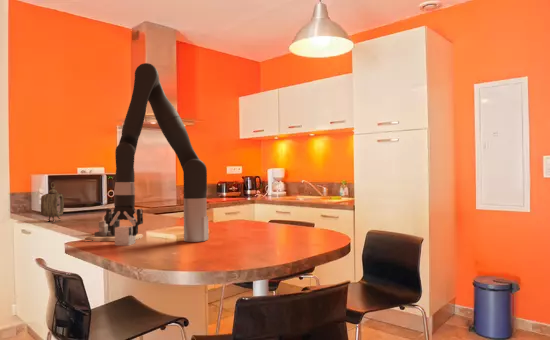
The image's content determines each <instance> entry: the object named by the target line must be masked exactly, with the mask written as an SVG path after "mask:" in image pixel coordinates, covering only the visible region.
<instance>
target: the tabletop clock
mask: <svg viewBox="0 0 550 340" xmlns="http://www.w3.org/2000/svg"><path fill="white" fill-rule="evenodd" d="M52 185H54V186H52ZM50 188H51V189H50V190H49V191H48V193H45V194H43V195H42V196H41V197H40V214H41V216H43V217H45V218H46V217H48V219H47V220H50V221H51V218H52V222H53V221H54V220H55V217H57V219H61V220H62V218H61V216H63V214H64V211H65V210H64V207H65V202H64V193H61V192H60V193H59V192H58V191H57V189H55V188H56V184H55V182H54V181H52V182H50Z"/></svg>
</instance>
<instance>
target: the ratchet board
mask: <svg viewBox="0 0 550 340" xmlns="http://www.w3.org/2000/svg"><path fill="white" fill-rule="evenodd" d="M142 237H143V238H144V235H143V234H142V233H138V234H137V235H136V236H135V239H137V240H140V239H143V238H142ZM139 238H140V239H139ZM85 240H95V241H94V242H100V241H115V235H112V234H111V233H110V231H108V224H106V223H105V221H104V220H100V221H98V231H95V232H94V235H91V236H86V237H84V241H85Z"/></svg>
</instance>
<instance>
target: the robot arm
mask: <svg viewBox="0 0 550 340" xmlns="http://www.w3.org/2000/svg"><path fill="white" fill-rule="evenodd" d="M133 80H134V81H133V89H132V94H131V97H130V98H131V99H130V102H129V106H128V109H127V112H126V114H125V118H124V121H123V125H122V129H121V137H120V140H119V143H118V144H117V146H116V148H115V152H114V153H115V179H114V181H115V183H114V191H113V193H114V198H113V199H114V204H113V205H114V207H112V208H114V209H112V208H111V207H109V209H107V208H106V209H107V210H105V215H106V221H105V223H106V224H109V225H110V233H111V234H112V235H115V227H116V225H115V224H116V223H117V222H118V221H119V220H120V221H123V220H124V221H129V222H130V223H131V226H132V235H133V236H136V235H137V234H139V226H140V225H143V224H144V219H143V218H144V214H143V208H138V209H137V208H135V205H136V204H135V203H136V202H135V201H136V186H135V185H136V184H135V176H136V175H135V154H136V151H137V147H138V141H139V138H140V136H141V133H142V129H143V125H144V122H145V118H146V112H147V106H148V103H149V105H150V108H151V110H152V113H153V115H154V118H155V120H156V123H157V125H158V127H159V128H160V130H161V132H162V134H163V136H164V138H165V139H166V141H167V143H168V144H169V146H170V147H171V149H172V150H173V151H174V153H175V155H176V157H177V160H178V162H179V164H180V166H181V169H182V172H183V173H182V175H183V241H184V242H188V243H194V242H195V243H196V242H205V241H207V240H209V215H207V213H208V212H207V211H208V209H207V206H208V205H207V204H208V202H207V201H208V200H207V197H208V196H207V195H208V194H207V193H208V192H207V191H208V182H207V181H208V169H207V165H206V164H205V162H204V161H202V160H201V159H200V157H199V156H198V154H197V152H196V151H195V150H194V148H193V145H192V143H191V140H190V137H189V133H188V131H187V128H186V126H185V124H184V122H183V120H182V117H181V116H180V114H179V113H178V111H177V110H176V108H175V106H174V105H173V103H172V102H171V101H170V100H169V98H168V97H167V96H166V93H165V91H164V88H163V86H162V83H161V81H160V74H159V71H158V69H157V67H155V65H153V64H151V63H148V62H145V63H141V64H139V65H138V66H137V67H136V69H135V70H134V79H133ZM113 212H114V213H115V216H114V218H113V219H112V214H113ZM135 215H136V216H135Z"/></svg>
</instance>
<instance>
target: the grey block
mask: <svg viewBox="0 0 550 340" xmlns="http://www.w3.org/2000/svg"><path fill="white" fill-rule="evenodd" d="M132 226H133V225H120V227H115V242H114V246H131V245H134V244H136V241H137V240H136V239H135V236H133V235H132Z"/></svg>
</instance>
